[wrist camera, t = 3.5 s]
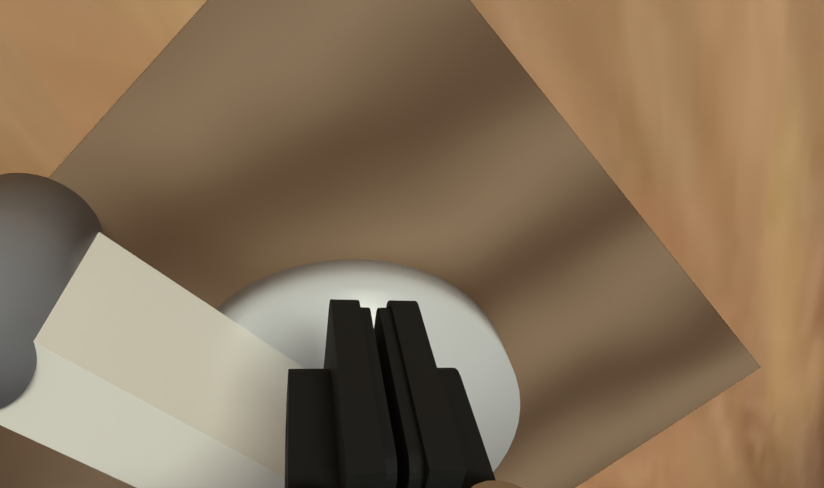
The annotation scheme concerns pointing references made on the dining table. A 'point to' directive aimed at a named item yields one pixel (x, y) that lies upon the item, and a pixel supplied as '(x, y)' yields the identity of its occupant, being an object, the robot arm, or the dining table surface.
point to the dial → (192, 349)
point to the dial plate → (402, 211)
